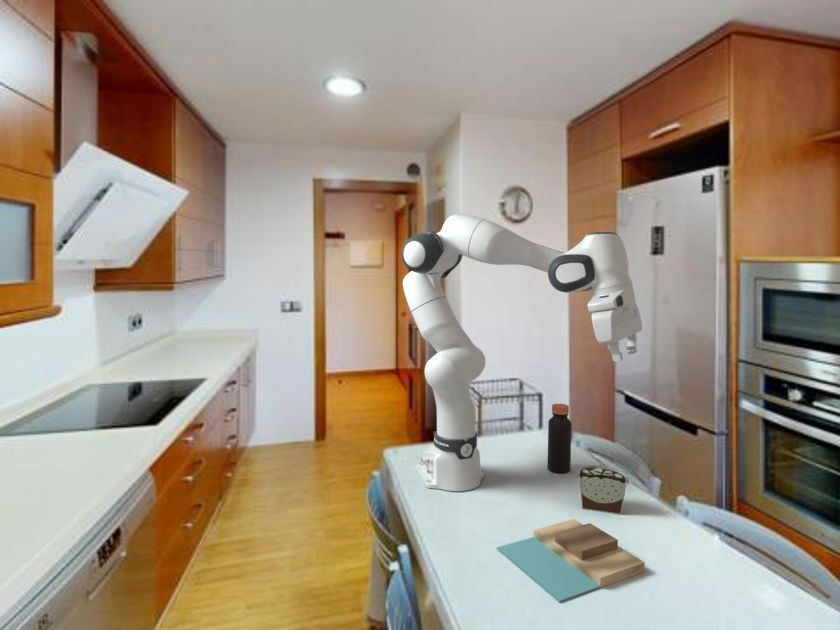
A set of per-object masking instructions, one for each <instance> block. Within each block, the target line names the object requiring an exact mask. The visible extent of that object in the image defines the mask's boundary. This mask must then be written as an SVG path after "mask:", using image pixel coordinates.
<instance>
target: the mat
mask: <svg viewBox="0 0 840 630" xmlns="http://www.w3.org/2000/svg"><path fill="white" fill-rule="evenodd" d="M496 550H497V551H498V552H499V553H500V554H502V555H503V556H504V557H505V558H507V560H509V561H510V562H511V563H513V565H515V566H516V567H517V568H518V569H519V570H520V571H521V572H523V573H524V574H525V575H527V576H528V578H530V579H531V580H532V581H534V582H535V583H536V584H537V585H538V586H539V587H541V588H542V589H543V590H544V591H545V592H546V593H548V594H549V595H550V596H551V597H552V598H554V600H555V601H556V602H557V603H563V602H565V601H568V600H571V599H574V598H576V597H579V596H581V595H584V594H587V593H590V592H593V591H595V590H599V589H601V588H600V585H598V584H597V583H596V582H594V581H593V580H592V579H590V578H589V577H587V576H586V575H585V574H583V573H582V572H581V571H579V570H578V569H576V568H575V567H574V566H572V565H571V564H570V563H568V562H567V561H566V560H564V559H563V558H561V557H560V556H559V555H557V554H556V553H555V552H553V551H552V550H550V549H549V548H548V547H546V546H545V545H544V544H542V543H541V542H540V541H538V540H537V539H535V538H534V537H533V536H532V537H528V538H525V539H522V540H518V541H514V542H511V543H507V544H505V545H501V546H496Z"/></svg>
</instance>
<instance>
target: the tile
mask: <svg viewBox="0 0 840 630" xmlns="http://www.w3.org/2000/svg"><path fill="white" fill-rule="evenodd" d="M555 542H556V543H557V544H559V545H560V546H562V547H563V548H564V549H566V550H567V551H569V552H570V553H572V554H573V555H574V556H576V557H577V558H579V559H580V560H585V559H588V558H591V557H594V556H597V555H601V554H604V553H607V552H610V551H613V550H616V549H618V546H619V543H618V542H619V539H617V538H616V537H614V536H612V535H611V534H609V533H607V532H605V531H604V530H603V529H601V528H599V527H597V526H596V525H594V524H592V523H591V522H589V523H585V524H583V525H581V526H578V527H574V528H571V529H567V530H564V531H560V532H557V533H555Z"/></svg>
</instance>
